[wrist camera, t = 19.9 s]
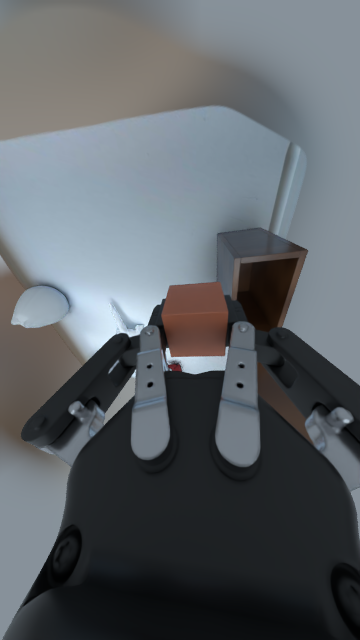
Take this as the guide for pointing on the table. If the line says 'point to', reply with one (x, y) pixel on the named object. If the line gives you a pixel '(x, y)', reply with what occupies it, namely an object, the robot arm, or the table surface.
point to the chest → (259, 273)
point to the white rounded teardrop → (40, 307)
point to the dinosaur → (121, 325)
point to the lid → (280, 401)
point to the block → (195, 320)
